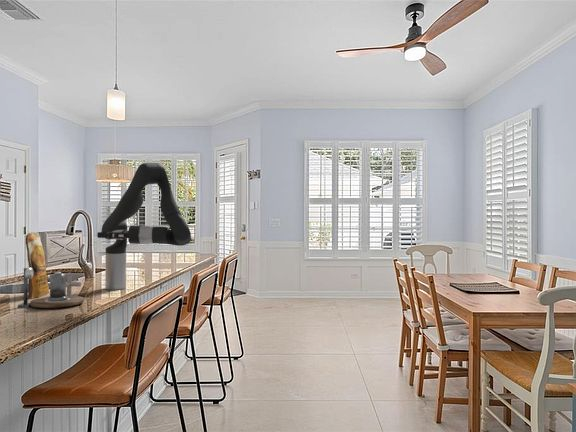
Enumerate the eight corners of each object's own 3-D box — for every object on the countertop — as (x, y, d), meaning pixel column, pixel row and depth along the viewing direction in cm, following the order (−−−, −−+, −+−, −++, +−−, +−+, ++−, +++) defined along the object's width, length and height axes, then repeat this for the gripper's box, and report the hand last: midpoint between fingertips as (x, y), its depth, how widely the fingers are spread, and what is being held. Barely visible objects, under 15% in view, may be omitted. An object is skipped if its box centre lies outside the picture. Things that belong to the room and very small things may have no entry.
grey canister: (51, 298, 182) (51, 271, 182) (70, 297, 183) (70, 270, 183) (44, 301, 175) (44, 273, 175) (64, 301, 176) (64, 273, 176)
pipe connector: (86, 293, 204) (86, 271, 204) (73, 297, 194) (73, 274, 194) (65, 293, 205) (65, 271, 205) (51, 297, 195) (51, 274, 195)
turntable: (41, 300, 187) (41, 295, 187) (89, 299, 190) (89, 295, 190) (21, 310, 168) (21, 305, 168) (75, 309, 171) (75, 304, 171)
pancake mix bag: (19, 299, 189) (19, 233, 189) (37, 291, 208) (38, 231, 208) (36, 299, 190) (36, 233, 190) (53, 291, 209) (53, 231, 209)
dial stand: (22, 305, 177) (22, 267, 177) (33, 305, 178) (33, 267, 178) (17, 307, 173) (17, 268, 173) (28, 307, 174) (28, 268, 173)
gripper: (144, 225, 193) (104, 224, 190) (138, 226, 179) (95, 225, 176) (144, 242, 193) (104, 242, 190) (138, 245, 179) (95, 245, 176)
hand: (100, 234), depth 183 cm, fingers open, 8 cm apart
